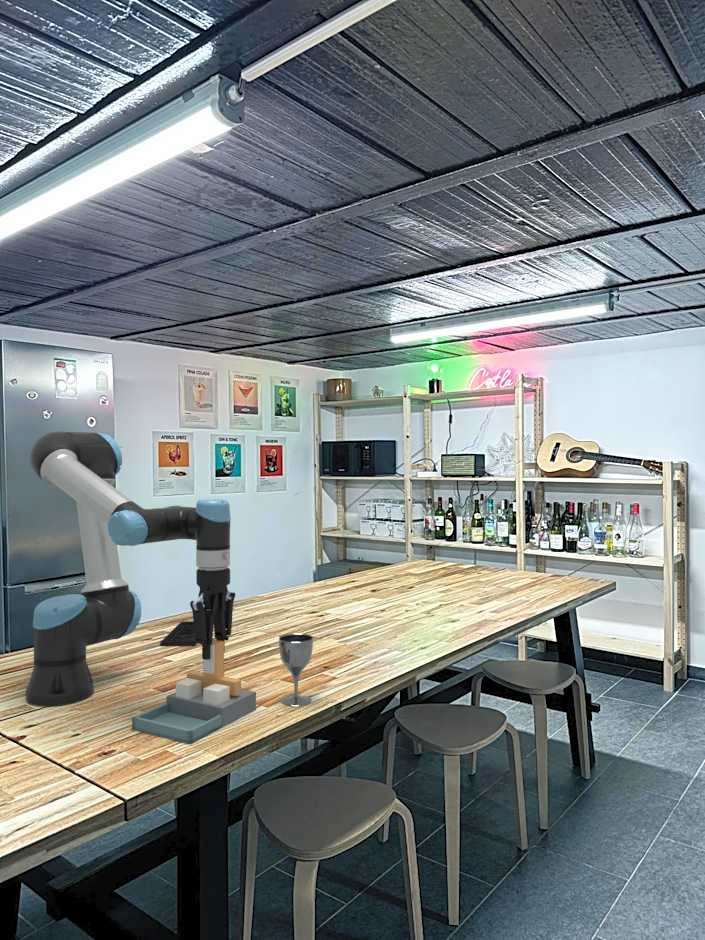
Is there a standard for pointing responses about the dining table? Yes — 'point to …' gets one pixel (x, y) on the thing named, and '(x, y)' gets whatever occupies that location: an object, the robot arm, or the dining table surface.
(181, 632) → the black shallow tray
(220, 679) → the orange t-shaped block
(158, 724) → the blue-grey flat tray
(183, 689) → the white cube block
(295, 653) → the wine glass
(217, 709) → the grey drawer housing
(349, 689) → the dining table surface
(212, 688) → the white rectangular block
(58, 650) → the robot arm
